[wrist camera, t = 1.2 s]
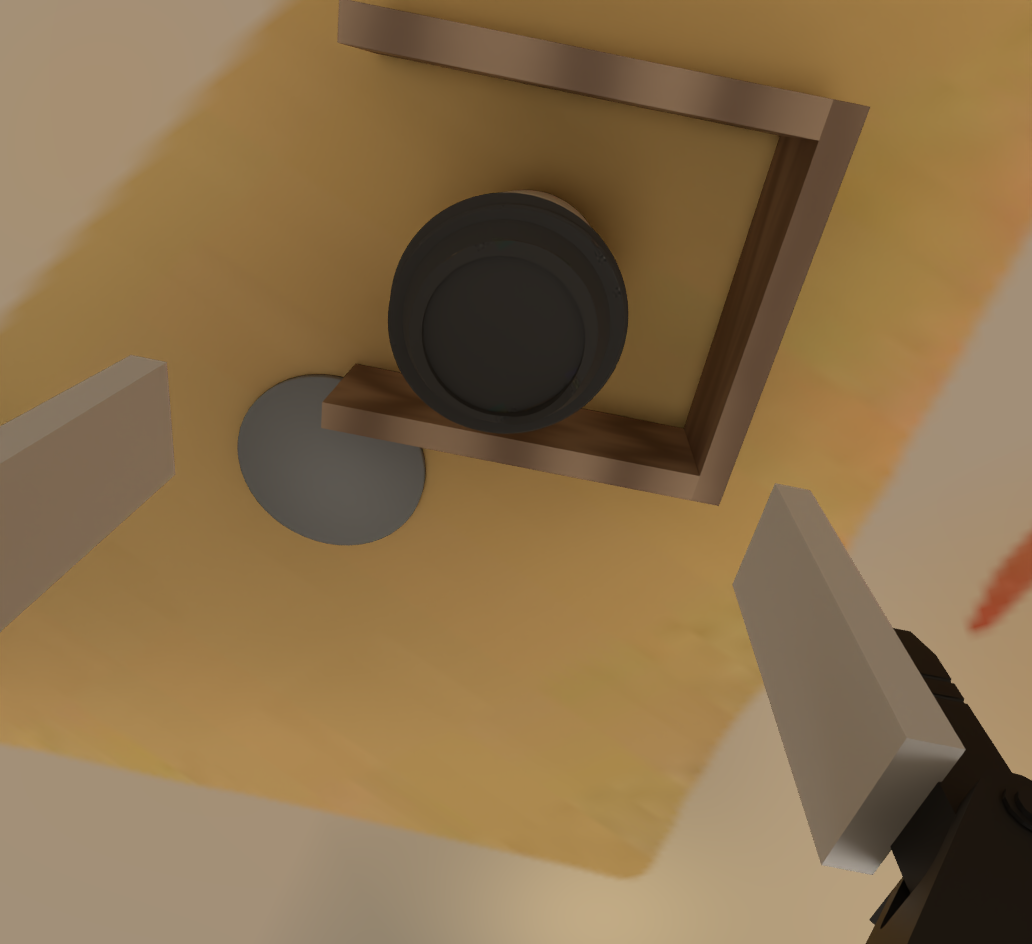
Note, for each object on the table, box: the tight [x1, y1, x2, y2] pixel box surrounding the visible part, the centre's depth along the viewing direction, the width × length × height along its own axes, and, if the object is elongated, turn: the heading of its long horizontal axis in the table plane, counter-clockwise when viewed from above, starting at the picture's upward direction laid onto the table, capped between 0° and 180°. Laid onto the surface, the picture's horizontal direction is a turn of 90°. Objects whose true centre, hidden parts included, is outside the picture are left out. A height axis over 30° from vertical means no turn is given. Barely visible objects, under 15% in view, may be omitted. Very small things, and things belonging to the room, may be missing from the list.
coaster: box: [238, 374, 426, 545], centre depth 43 cm, size 12×12×1 cm
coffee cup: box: [388, 190, 628, 434], centre depth 30 cm, size 9×9×15 cm
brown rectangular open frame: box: [321, 0, 870, 506], centre depth 34 cm, size 22×19×6 cm
